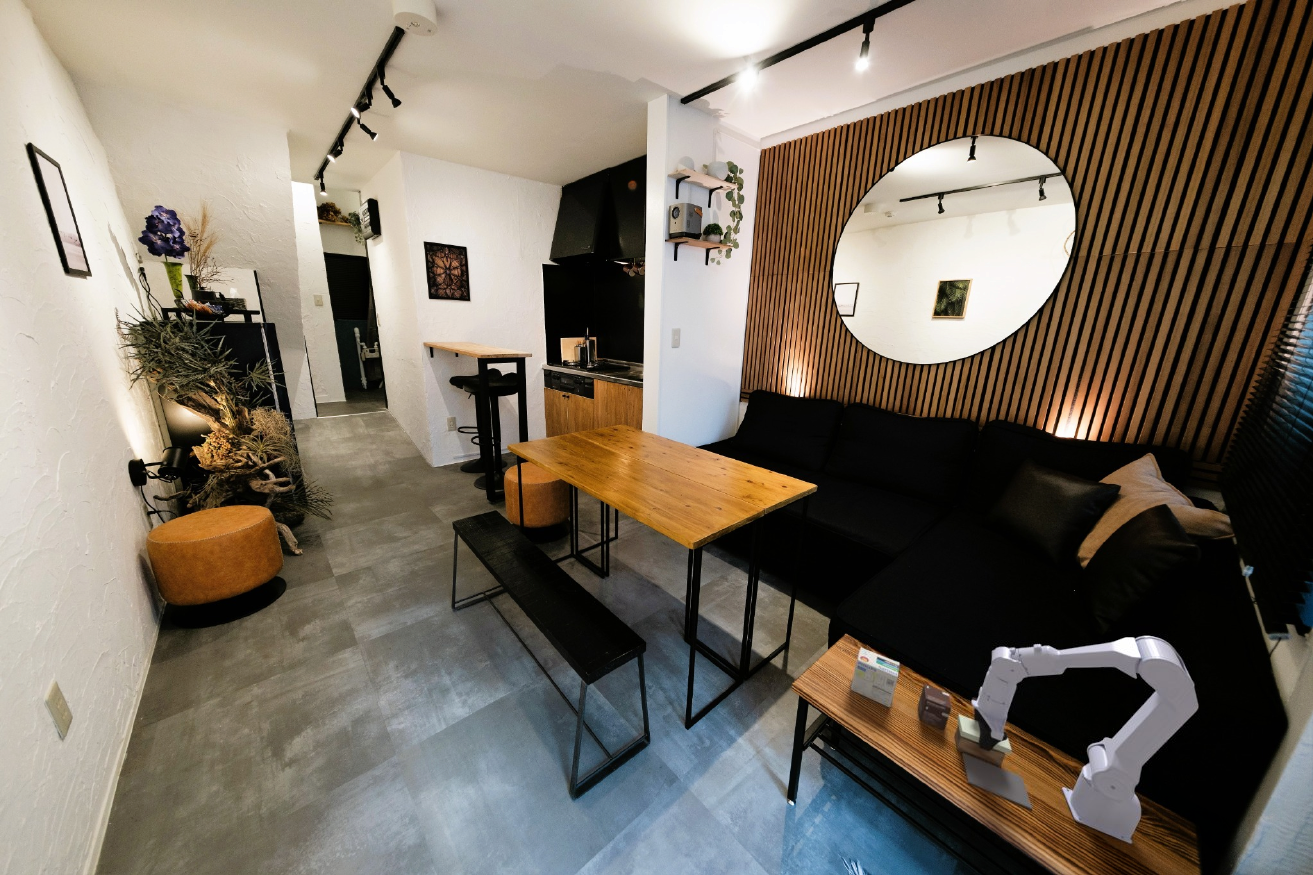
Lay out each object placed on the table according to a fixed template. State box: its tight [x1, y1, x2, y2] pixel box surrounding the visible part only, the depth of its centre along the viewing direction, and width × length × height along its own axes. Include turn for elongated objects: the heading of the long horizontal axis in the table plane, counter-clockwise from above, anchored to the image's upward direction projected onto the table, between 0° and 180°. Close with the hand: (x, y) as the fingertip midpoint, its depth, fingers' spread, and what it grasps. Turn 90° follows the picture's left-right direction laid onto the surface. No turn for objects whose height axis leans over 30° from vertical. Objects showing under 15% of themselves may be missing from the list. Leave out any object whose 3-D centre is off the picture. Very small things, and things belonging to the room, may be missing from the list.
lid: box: [956, 714, 1012, 755], centre depth 109 cm, size 10×6×2 cm, turn 64°
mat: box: [961, 753, 1033, 811], centre depth 104 cm, size 12×8×1 cm, turn 64°
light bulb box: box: [850, 647, 900, 708], centre depth 125 cm, size 11×7×11 cm, turn 58°
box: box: [917, 683, 952, 731], centre depth 119 cm, size 6×6×7 cm
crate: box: [954, 724, 1006, 769], centre depth 110 cm, size 9×4×4 cm, turn 64°
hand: (981, 738), depth 109 cm, fingers closed on lid, 5 cm apart
